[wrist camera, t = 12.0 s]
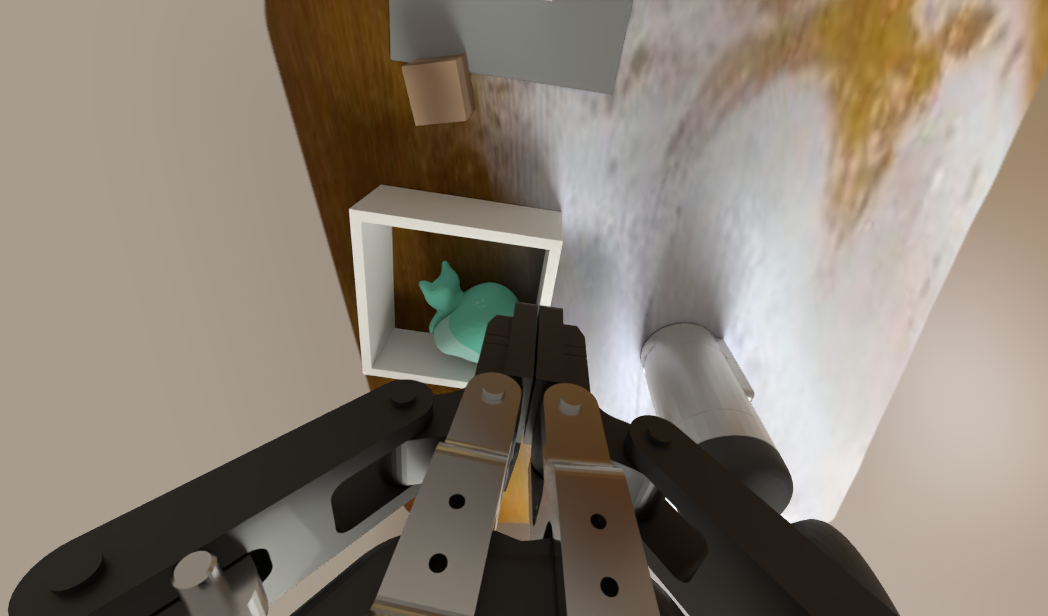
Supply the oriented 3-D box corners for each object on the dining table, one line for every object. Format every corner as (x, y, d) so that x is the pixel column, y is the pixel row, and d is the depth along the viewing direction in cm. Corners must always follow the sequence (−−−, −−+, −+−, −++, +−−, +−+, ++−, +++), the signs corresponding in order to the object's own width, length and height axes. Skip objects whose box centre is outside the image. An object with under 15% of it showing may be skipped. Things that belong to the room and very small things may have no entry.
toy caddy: (561, 212, 44) (562, 241, 37) (535, 354, 54) (532, 398, 47) (381, 184, 44) (348, 208, 37) (387, 333, 54) (362, 373, 47)
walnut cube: (466, 53, 37) (455, 60, 33) (475, 109, 40) (466, 120, 36) (416, 59, 37) (401, 66, 34) (428, 113, 40) (415, 125, 37)
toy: (382, 306, 45) (467, 407, 49) (434, 278, 38) (527, 398, 42) (438, 259, 51) (509, 351, 56) (491, 228, 45) (566, 336, 49)
